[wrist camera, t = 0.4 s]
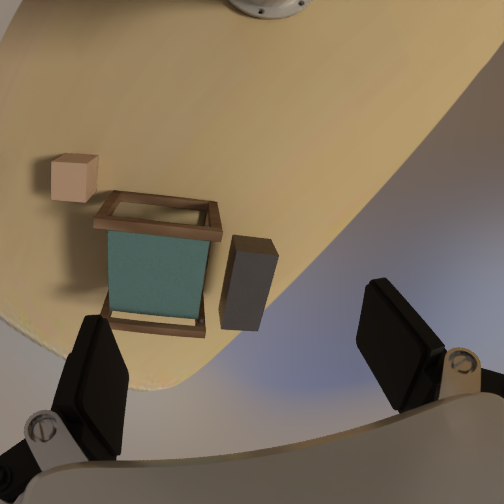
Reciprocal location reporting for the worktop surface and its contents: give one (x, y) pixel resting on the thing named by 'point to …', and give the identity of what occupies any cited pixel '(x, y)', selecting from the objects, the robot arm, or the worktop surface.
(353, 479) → the robot arm
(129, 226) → the frame
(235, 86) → the worktop surface
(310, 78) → the worktop surface
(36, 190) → the worktop surface
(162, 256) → the chair seat and backrest
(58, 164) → the pinkish beige cube
